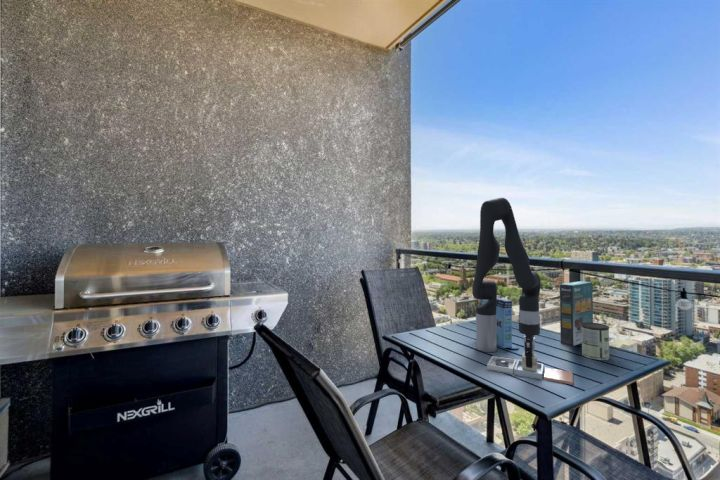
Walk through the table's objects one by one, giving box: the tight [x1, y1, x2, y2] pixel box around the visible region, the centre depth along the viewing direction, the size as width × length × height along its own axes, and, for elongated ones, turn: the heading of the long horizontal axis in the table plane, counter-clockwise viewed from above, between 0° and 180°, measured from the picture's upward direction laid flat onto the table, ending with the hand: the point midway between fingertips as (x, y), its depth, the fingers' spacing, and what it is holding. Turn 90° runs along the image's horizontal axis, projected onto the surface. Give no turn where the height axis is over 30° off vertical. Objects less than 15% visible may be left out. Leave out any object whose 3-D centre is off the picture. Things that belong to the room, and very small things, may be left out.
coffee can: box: [581, 322, 610, 361], centre depth 150 cm, size 10×10×14 cm
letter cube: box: [521, 352, 538, 372], centre depth 133 cm, size 5×5×5 cm
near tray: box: [486, 355, 518, 375], centre depth 138 cm, size 12×10×2 cm
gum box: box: [480, 296, 513, 349], centre depth 173 cm, size 20×5×23 cm, turn 13°
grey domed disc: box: [496, 359, 509, 367], centre depth 138 cm, size 5×5×2 cm
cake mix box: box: [559, 280, 594, 347], centre depth 174 cm, size 22×6×30 cm, turn 123°
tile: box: [543, 367, 574, 386], centre depth 128 cm, size 11×9×1 cm
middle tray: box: [513, 359, 545, 381], centre depth 133 cm, size 12×10×2 cm
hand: (529, 363), depth 133 cm, fingers closed on letter cube, 5 cm apart
